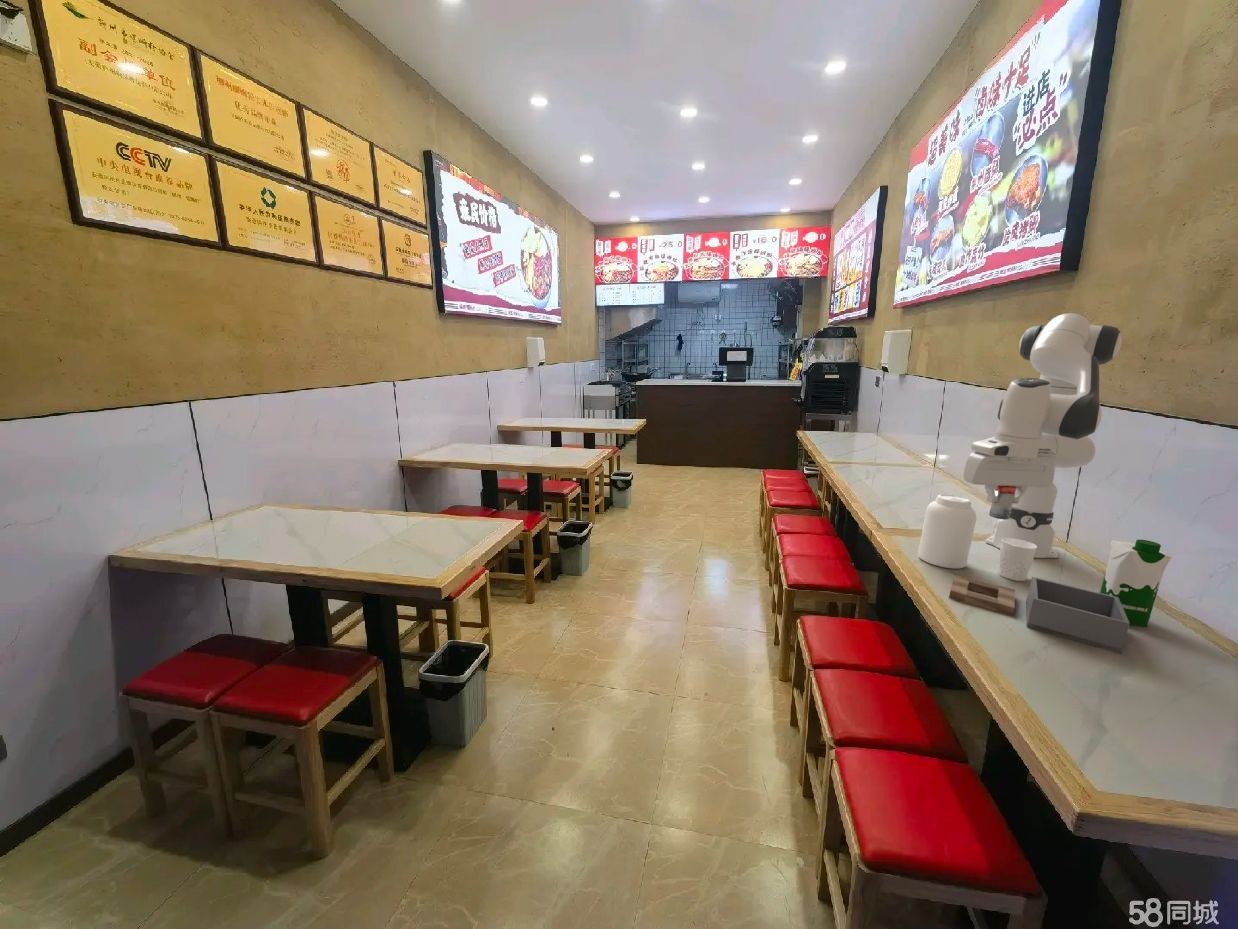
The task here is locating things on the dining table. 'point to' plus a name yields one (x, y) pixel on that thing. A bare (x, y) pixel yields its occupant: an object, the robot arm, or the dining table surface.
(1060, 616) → the bin
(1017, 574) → the white cup
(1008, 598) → the socket block
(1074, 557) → the dining table surface
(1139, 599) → the milk carton
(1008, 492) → the red and grey cylinder
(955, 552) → the can
